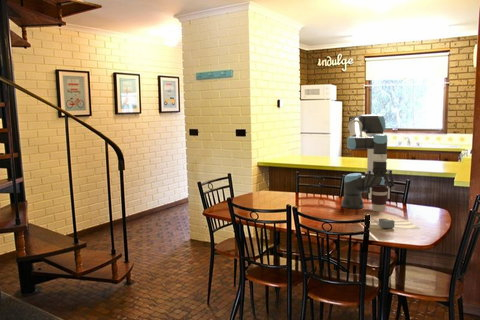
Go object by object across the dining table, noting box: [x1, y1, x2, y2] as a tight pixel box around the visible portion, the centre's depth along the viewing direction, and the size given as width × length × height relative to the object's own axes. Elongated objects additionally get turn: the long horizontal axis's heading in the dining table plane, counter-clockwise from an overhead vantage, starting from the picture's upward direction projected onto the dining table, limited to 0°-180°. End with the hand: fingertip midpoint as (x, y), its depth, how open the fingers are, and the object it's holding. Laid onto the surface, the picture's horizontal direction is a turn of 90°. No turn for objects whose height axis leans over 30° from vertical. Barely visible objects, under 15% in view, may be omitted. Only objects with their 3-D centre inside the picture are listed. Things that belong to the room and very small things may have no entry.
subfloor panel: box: [360, 219, 420, 231], centre depth 234 cm, size 18×28×2 cm, turn 91°
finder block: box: [378, 217, 395, 230], centre depth 227 cm, size 5×7×5 cm
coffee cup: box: [370, 184, 388, 213], centre depth 235 cm, size 10×10×15 cm
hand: (378, 198), depth 235 cm, fingers closed on coffee cup, 10 cm apart
